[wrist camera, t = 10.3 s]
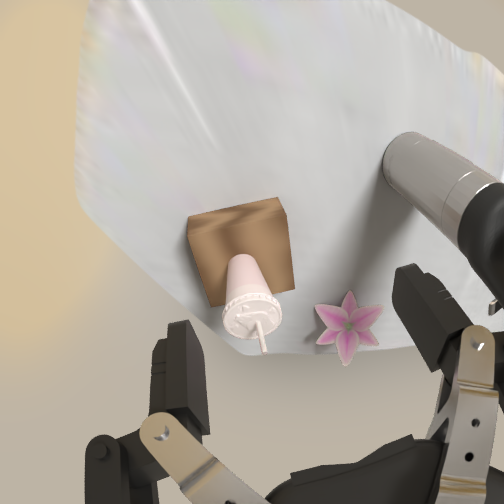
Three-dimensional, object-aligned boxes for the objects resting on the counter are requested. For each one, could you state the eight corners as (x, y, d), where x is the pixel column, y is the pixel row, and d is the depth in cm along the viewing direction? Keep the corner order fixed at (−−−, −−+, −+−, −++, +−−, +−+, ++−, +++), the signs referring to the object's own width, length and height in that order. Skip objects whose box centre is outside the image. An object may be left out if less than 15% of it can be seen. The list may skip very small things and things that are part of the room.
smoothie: (255, 289, 44) (275, 374, 33) (210, 279, 42) (217, 367, 31) (274, 251, 41) (303, 335, 30) (227, 239, 39) (240, 326, 28)
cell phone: (514, 292, 69) (516, 295, 67) (487, 313, 71) (490, 317, 70) (515, 279, 65) (518, 283, 64) (488, 302, 67) (491, 305, 66)
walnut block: (277, 197, 42) (286, 214, 38) (286, 267, 49) (294, 289, 45) (188, 216, 42) (187, 236, 38) (209, 284, 49) (211, 307, 45)
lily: (379, 284, 56) (389, 303, 47) (372, 341, 59) (379, 366, 50) (315, 283, 59) (315, 301, 50) (312, 340, 61) (311, 366, 52)
